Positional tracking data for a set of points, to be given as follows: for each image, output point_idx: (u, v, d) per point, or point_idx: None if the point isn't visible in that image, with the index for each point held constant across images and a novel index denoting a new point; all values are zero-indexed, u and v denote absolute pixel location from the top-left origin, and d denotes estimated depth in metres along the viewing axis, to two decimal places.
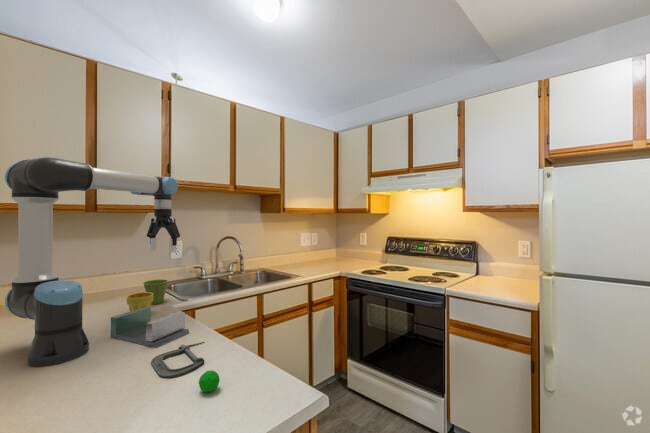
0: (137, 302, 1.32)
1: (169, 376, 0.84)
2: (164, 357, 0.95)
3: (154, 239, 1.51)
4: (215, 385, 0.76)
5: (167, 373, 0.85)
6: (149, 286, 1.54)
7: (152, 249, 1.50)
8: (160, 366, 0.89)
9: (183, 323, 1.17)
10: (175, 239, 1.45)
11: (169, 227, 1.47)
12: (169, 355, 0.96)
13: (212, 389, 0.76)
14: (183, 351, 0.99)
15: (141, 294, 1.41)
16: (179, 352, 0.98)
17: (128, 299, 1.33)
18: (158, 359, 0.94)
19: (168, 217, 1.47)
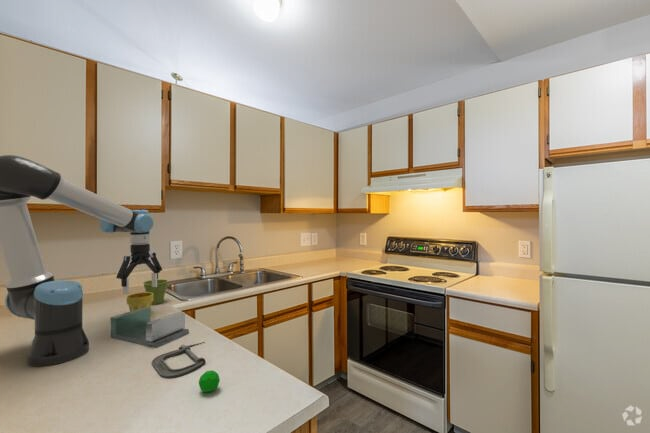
0: (137, 302, 1.32)
1: (171, 376, 0.84)
2: (165, 357, 0.95)
3: (154, 274, 1.43)
4: (215, 385, 0.76)
5: (168, 373, 0.85)
6: (149, 286, 1.54)
7: (152, 284, 1.44)
8: (161, 367, 0.89)
9: (183, 323, 1.17)
10: (122, 280, 1.30)
11: (130, 265, 1.33)
12: (170, 355, 0.96)
13: (212, 389, 0.76)
14: (183, 351, 0.99)
15: (141, 294, 1.41)
16: (180, 352, 0.98)
17: (128, 299, 1.33)
18: (159, 359, 0.94)
19: (132, 254, 1.34)
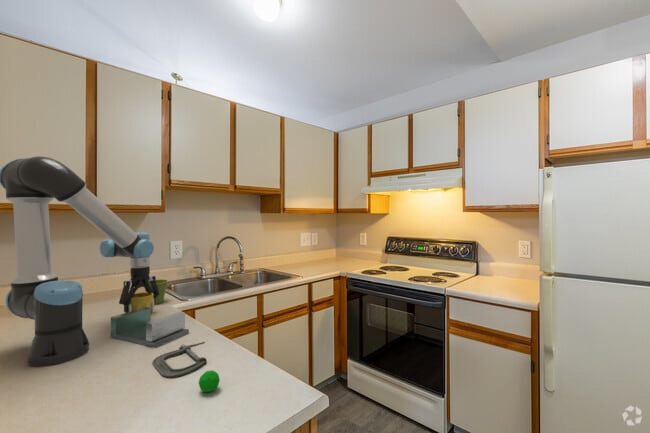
0: (137, 302, 1.32)
1: (172, 376, 0.84)
2: (165, 357, 0.95)
3: None
4: (215, 385, 0.76)
5: (170, 373, 0.85)
6: None
7: None
8: (163, 367, 0.89)
9: (183, 323, 1.17)
10: (124, 305, 1.31)
11: (131, 289, 1.34)
12: (170, 355, 0.96)
13: (212, 389, 0.76)
14: (184, 351, 0.99)
15: (141, 294, 1.41)
16: (180, 352, 0.98)
17: None
18: (159, 359, 0.94)
19: (132, 277, 1.34)
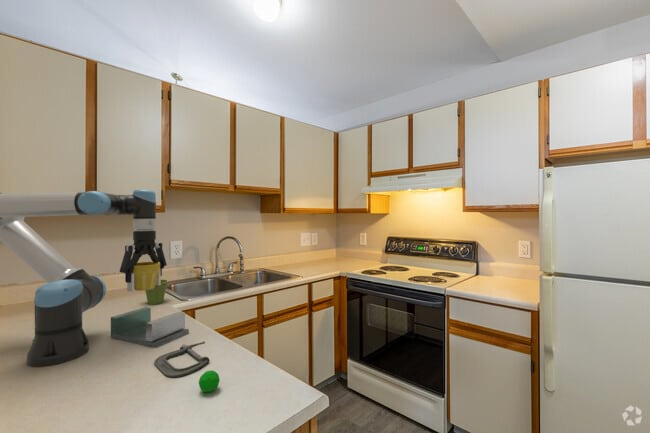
0: (141, 271, 1.11)
1: (176, 375, 0.84)
2: (167, 357, 0.94)
3: None
4: (215, 385, 0.76)
5: (174, 373, 0.85)
6: None
7: None
8: (165, 366, 0.89)
9: (183, 323, 1.17)
10: (126, 274, 1.10)
11: (134, 256, 1.12)
12: (172, 355, 0.96)
13: (212, 389, 0.76)
14: (185, 351, 0.99)
15: (145, 264, 1.20)
16: (181, 352, 0.98)
17: None
18: (161, 360, 0.94)
19: (135, 242, 1.13)
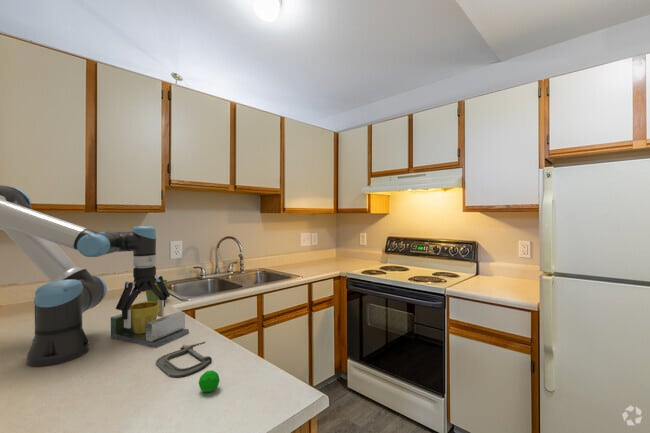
0: (140, 314, 1.11)
1: (180, 375, 0.84)
2: (168, 358, 0.94)
3: (160, 302, 1.22)
4: (215, 385, 0.76)
5: (177, 373, 0.85)
6: None
7: (158, 314, 1.22)
8: (168, 367, 0.89)
9: (183, 323, 1.17)
10: (123, 311, 1.08)
11: (133, 293, 1.12)
12: (173, 356, 0.96)
13: (212, 389, 0.76)
14: (186, 351, 0.99)
15: (145, 304, 1.19)
16: (183, 352, 0.98)
17: None
18: (162, 360, 0.93)
19: (135, 279, 1.12)
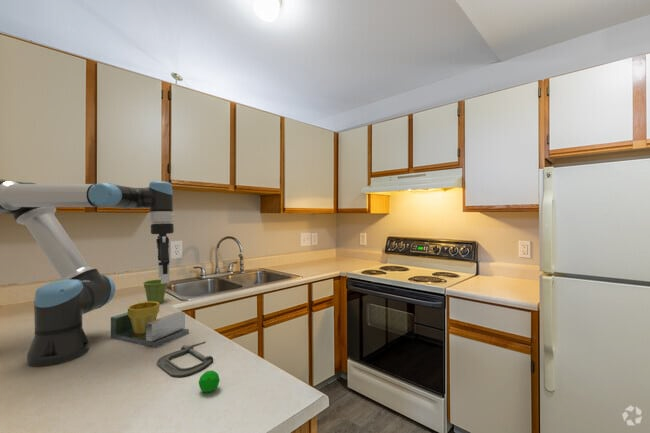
0: (140, 314, 1.11)
1: (182, 375, 0.84)
2: (169, 358, 0.94)
3: None
4: (215, 385, 0.76)
5: (179, 372, 0.85)
6: (149, 286, 1.54)
7: (160, 275, 1.18)
8: (169, 367, 0.89)
9: (183, 323, 1.17)
10: (165, 266, 1.06)
11: None
12: (174, 356, 0.96)
13: (212, 389, 0.76)
14: (187, 351, 0.99)
15: (145, 304, 1.19)
16: (183, 352, 0.98)
17: (129, 311, 1.11)
18: (164, 360, 0.93)
19: (163, 235, 1.09)
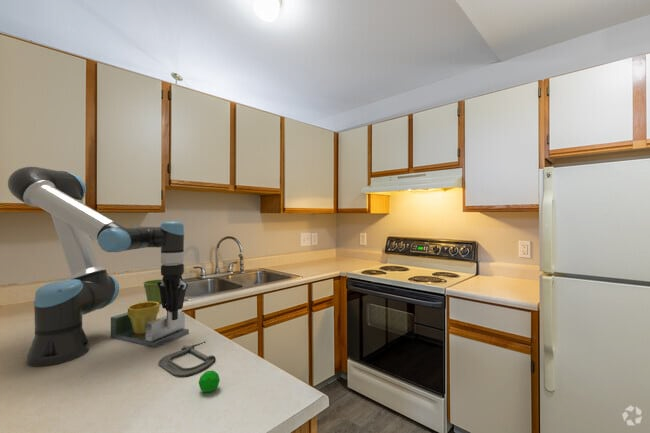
0: (140, 314, 1.11)
1: (186, 375, 0.84)
2: (171, 358, 0.94)
3: None
4: (215, 385, 0.76)
5: (182, 372, 0.86)
6: (149, 286, 1.54)
7: None
8: (172, 367, 0.89)
9: (183, 323, 1.17)
10: (176, 312, 1.09)
11: (175, 293, 1.09)
12: (175, 356, 0.96)
13: (212, 389, 0.76)
14: (188, 351, 0.99)
15: (145, 304, 1.19)
16: (185, 352, 0.98)
17: (129, 311, 1.11)
18: (165, 360, 0.93)
19: (179, 276, 1.09)
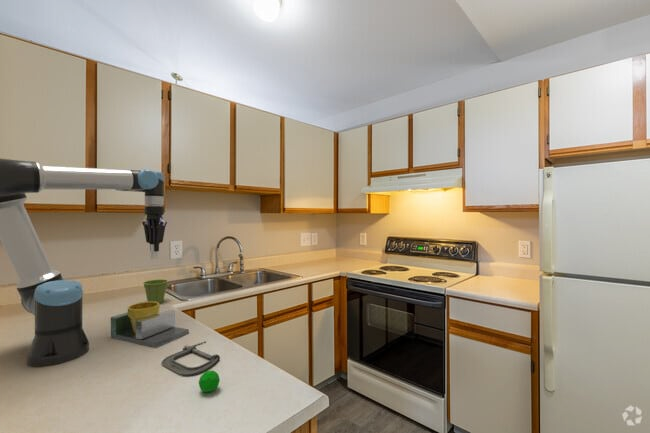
0: (140, 314, 1.11)
1: (192, 374, 0.85)
2: (174, 358, 0.94)
3: None
4: (215, 385, 0.76)
5: (188, 372, 0.86)
6: (149, 286, 1.54)
7: None
8: (176, 367, 0.89)
9: (173, 321, 1.19)
10: (157, 244, 1.34)
11: (157, 229, 1.34)
12: (178, 356, 0.96)
13: (212, 389, 0.76)
14: (190, 351, 0.99)
15: (145, 304, 1.19)
16: (187, 352, 0.98)
17: (129, 311, 1.11)
18: (168, 361, 0.93)
19: (160, 215, 1.34)
